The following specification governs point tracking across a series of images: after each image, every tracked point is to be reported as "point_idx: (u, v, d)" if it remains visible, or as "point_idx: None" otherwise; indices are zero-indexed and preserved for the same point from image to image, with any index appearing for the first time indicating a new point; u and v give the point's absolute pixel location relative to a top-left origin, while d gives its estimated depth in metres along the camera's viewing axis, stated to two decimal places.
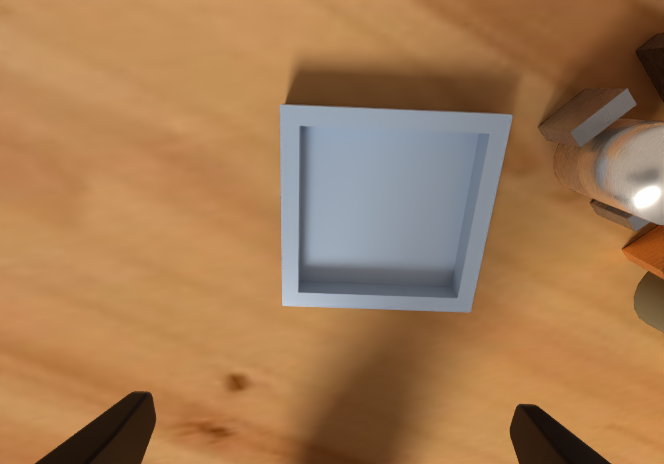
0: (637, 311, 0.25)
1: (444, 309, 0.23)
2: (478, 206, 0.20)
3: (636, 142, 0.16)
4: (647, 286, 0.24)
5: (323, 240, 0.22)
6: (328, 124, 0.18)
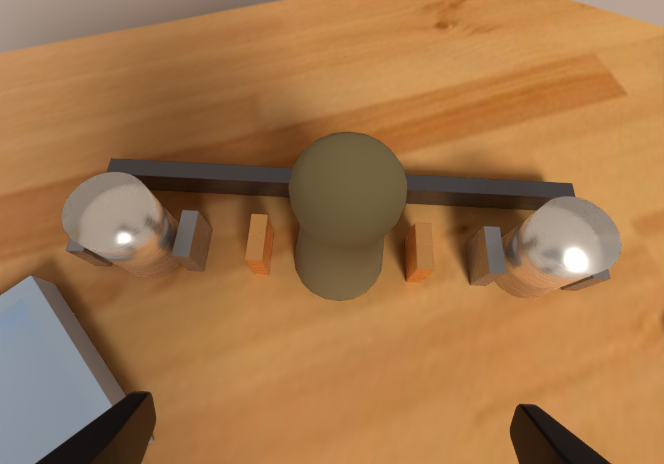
0: (328, 298, 0.23)
1: None
2: (56, 349, 0.20)
3: None
4: (301, 276, 0.23)
5: None
6: None
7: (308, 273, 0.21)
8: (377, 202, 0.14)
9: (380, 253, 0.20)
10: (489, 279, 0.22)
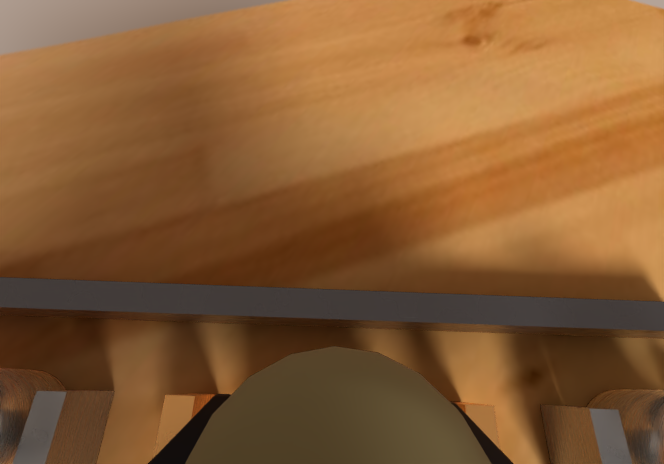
0: None
1: None
2: None
3: None
4: None
5: None
6: None
7: None
8: None
9: None
10: None
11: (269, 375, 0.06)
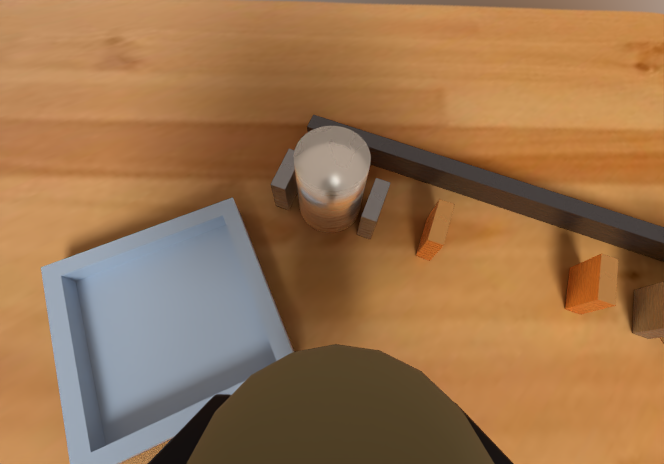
0: None
1: None
2: (245, 268, 0.22)
3: None
4: None
5: (122, 380, 0.20)
6: (86, 263, 0.21)
7: None
8: None
9: None
10: (663, 333, 0.21)
11: (271, 373, 0.06)
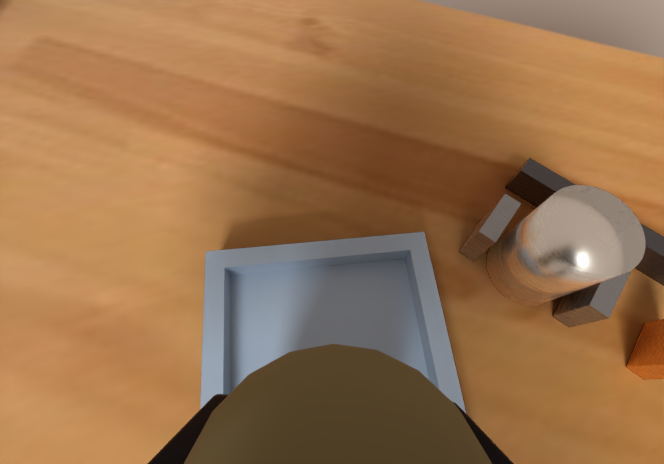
0: None
1: None
2: (428, 323, 0.18)
3: (532, 215, 0.17)
4: None
5: None
6: (253, 262, 0.19)
7: None
8: None
9: None
10: None
11: (267, 372, 0.06)
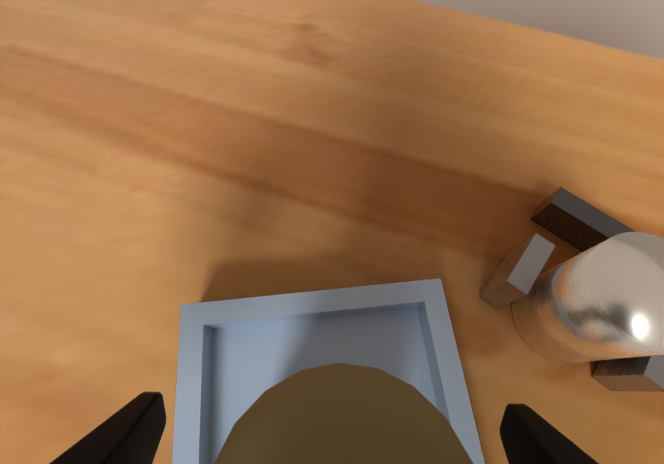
0: None
1: None
2: (448, 395, 0.15)
3: (575, 267, 0.14)
4: None
5: None
6: (237, 317, 0.16)
7: None
8: None
9: None
10: None
11: (284, 390, 0.07)
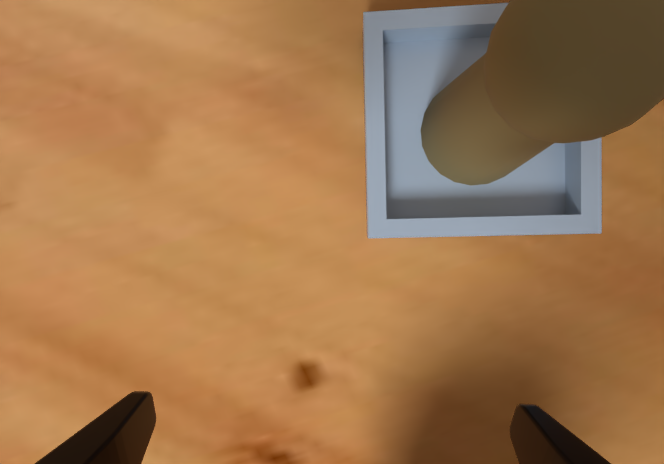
0: (459, 182, 0.20)
1: (567, 230, 0.18)
2: None
3: None
4: (430, 155, 0.20)
5: (408, 166, 0.20)
6: (411, 25, 0.19)
7: (447, 155, 0.18)
8: (652, 82, 0.09)
9: None
10: None
11: None
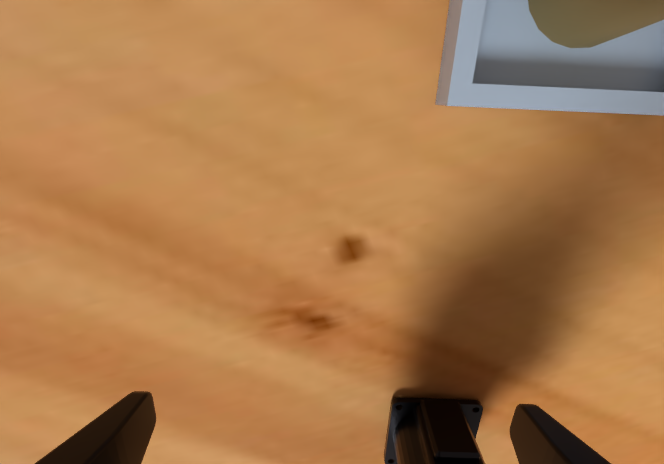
0: (558, 42, 0.17)
1: None
2: None
3: None
4: (535, 2, 0.16)
5: (504, 15, 0.16)
6: None
7: (570, 2, 0.14)
8: None
9: None
10: None
11: None
